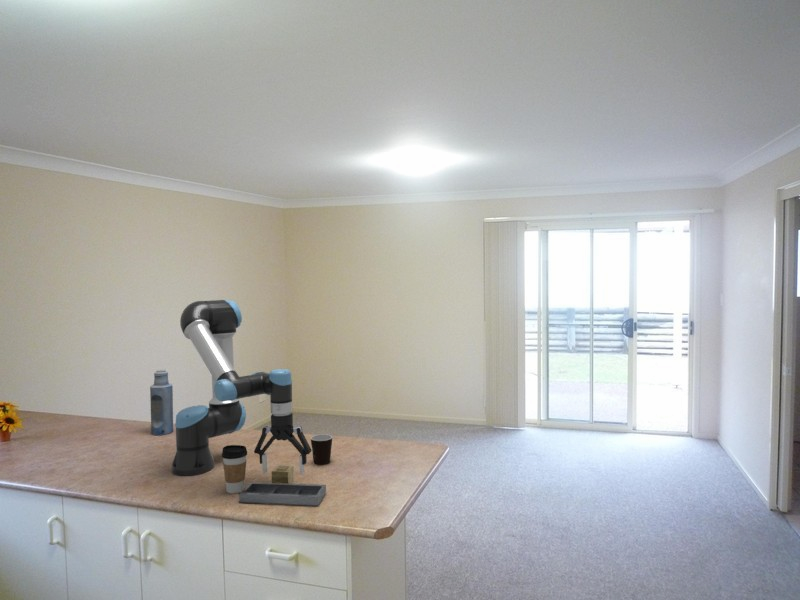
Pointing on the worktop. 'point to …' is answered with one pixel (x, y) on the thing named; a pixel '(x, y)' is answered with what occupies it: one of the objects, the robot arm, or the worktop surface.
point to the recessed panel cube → (283, 474)
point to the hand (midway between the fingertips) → (283, 473)
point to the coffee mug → (321, 448)
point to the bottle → (161, 404)
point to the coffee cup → (234, 467)
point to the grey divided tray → (283, 494)
